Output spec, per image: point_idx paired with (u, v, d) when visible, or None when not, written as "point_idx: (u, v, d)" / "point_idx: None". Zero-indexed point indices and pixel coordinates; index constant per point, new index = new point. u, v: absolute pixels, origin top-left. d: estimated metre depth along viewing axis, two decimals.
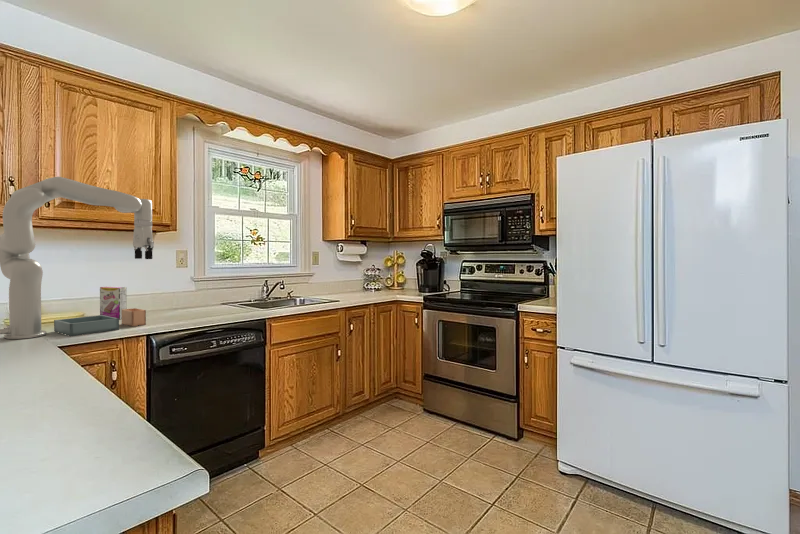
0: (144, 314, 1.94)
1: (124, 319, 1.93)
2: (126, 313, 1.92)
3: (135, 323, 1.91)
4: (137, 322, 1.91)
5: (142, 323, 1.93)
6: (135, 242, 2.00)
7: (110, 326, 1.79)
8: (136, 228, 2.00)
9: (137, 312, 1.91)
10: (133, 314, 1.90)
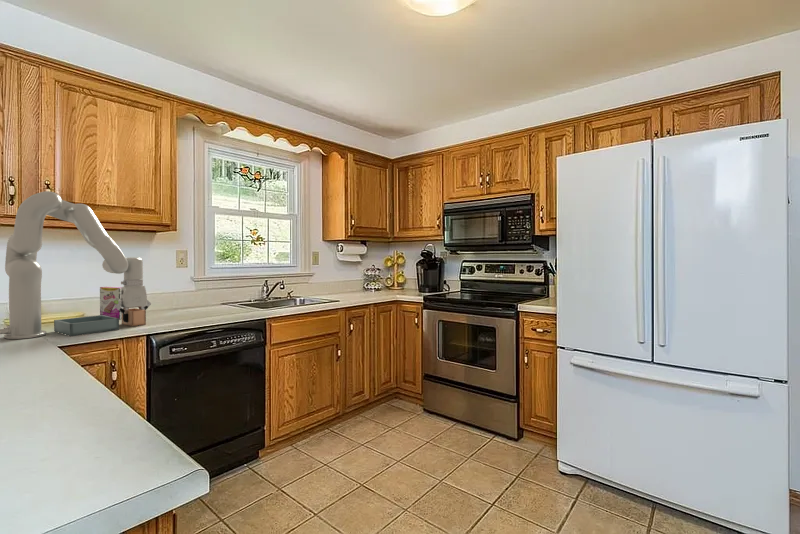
0: (144, 314, 1.94)
1: None
2: None
3: (135, 323, 1.91)
4: (137, 322, 1.91)
5: (142, 323, 1.93)
6: (132, 303, 1.91)
7: (110, 326, 1.79)
8: (133, 288, 1.92)
9: (137, 312, 1.91)
10: (133, 314, 1.90)
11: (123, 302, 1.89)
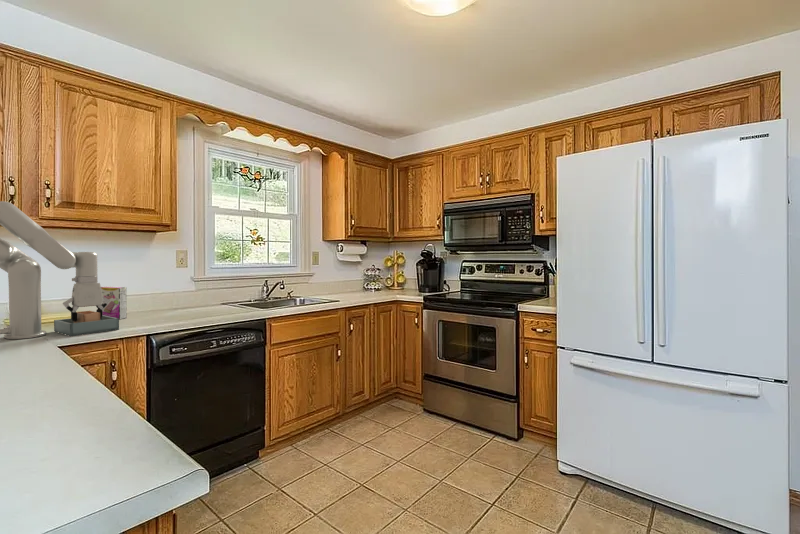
0: (98, 317, 1.77)
1: None
2: (78, 316, 1.76)
3: None
4: None
5: None
6: (84, 301, 1.75)
7: (110, 326, 1.79)
8: (86, 285, 1.75)
9: (90, 315, 1.75)
10: (85, 317, 1.73)
11: (74, 299, 1.73)
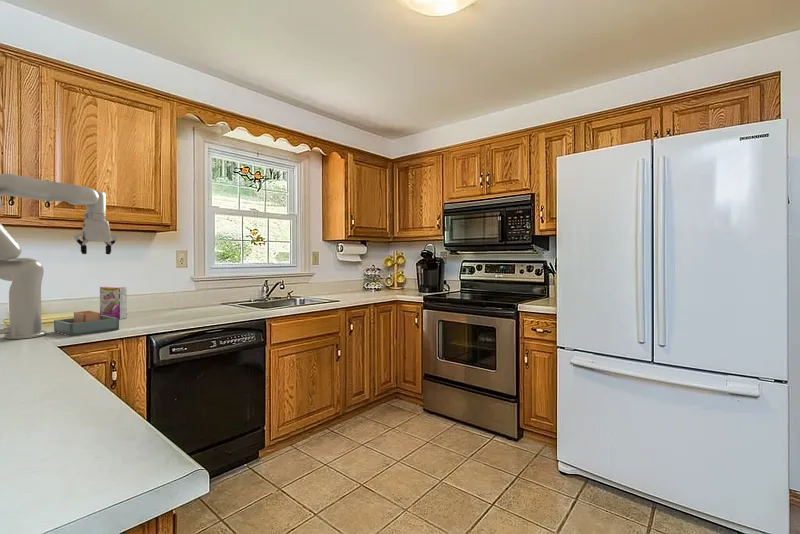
0: (98, 317, 1.77)
1: None
2: (78, 316, 1.76)
3: None
4: None
5: None
6: (94, 236, 1.89)
7: (110, 326, 1.79)
8: (96, 222, 1.89)
9: (90, 315, 1.75)
10: (85, 317, 1.73)
11: (85, 233, 1.87)
